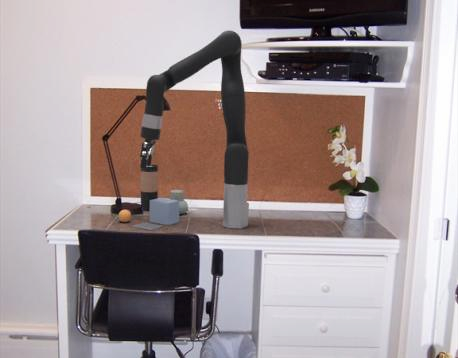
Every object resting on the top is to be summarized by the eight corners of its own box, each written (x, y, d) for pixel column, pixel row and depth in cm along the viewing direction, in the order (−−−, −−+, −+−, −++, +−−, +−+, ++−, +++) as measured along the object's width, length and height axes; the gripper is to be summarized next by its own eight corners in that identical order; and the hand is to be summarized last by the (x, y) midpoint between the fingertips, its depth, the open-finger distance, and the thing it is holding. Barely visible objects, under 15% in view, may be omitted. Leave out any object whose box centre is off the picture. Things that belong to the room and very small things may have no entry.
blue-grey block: (178, 222, 207) (179, 200, 205) (168, 225, 201) (168, 203, 200) (160, 218, 212) (160, 197, 210) (149, 221, 206) (149, 200, 205)
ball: (133, 221, 205) (133, 209, 204) (125, 224, 201) (125, 211, 200) (124, 220, 208) (124, 207, 207) (115, 222, 203) (115, 209, 203)
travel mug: (154, 212, 224) (154, 166, 221) (137, 210, 226) (138, 165, 223) (160, 208, 231) (160, 164, 228) (144, 207, 233) (144, 164, 230)
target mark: (164, 226, 199) (164, 226, 199) (151, 230, 192) (151, 230, 192) (144, 222, 204) (144, 222, 204) (131, 226, 197) (131, 226, 197)
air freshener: (164, 211, 227) (165, 189, 225) (183, 210, 229) (183, 188, 228) (169, 216, 217) (170, 193, 215) (188, 215, 219) (189, 192, 218)
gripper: (157, 129, 192) (151, 171, 194) (164, 127, 206) (158, 166, 208) (137, 125, 192) (131, 167, 194) (146, 124, 206) (140, 163, 209)
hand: (145, 167), depth 201 cm, fingers open, 8 cm apart
